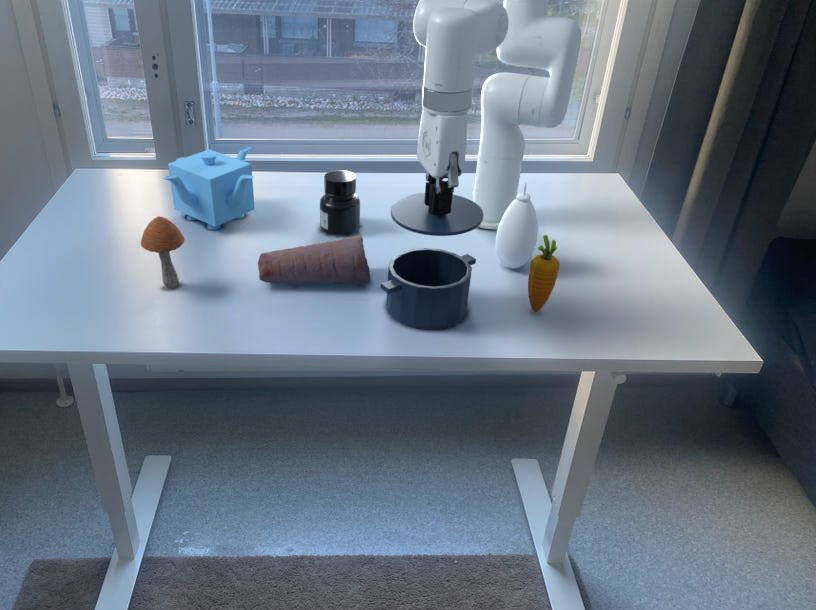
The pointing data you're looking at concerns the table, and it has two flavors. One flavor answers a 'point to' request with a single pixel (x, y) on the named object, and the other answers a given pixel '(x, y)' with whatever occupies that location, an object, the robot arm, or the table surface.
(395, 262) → the saucepan
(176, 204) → the teakettle
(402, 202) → the saucepan lid
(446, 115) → the robot arm
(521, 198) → the white egg-shaped bulb
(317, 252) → the food
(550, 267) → the carrot
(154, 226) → the mushroom
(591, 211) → the table surface
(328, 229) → the ink bottle
